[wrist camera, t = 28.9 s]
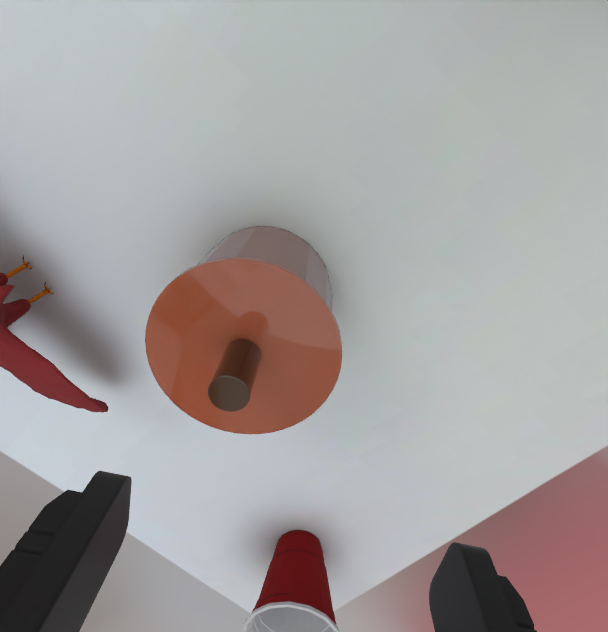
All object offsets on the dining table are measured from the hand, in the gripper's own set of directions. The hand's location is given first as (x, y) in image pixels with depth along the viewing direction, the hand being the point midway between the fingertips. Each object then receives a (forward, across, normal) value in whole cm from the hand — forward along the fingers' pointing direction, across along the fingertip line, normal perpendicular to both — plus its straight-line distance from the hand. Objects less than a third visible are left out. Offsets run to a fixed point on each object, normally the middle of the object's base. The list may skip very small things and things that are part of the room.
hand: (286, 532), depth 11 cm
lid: (+20, +4, +6) cm, 21 cm away
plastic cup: (+32, -7, +40) cm, 52 cm away
